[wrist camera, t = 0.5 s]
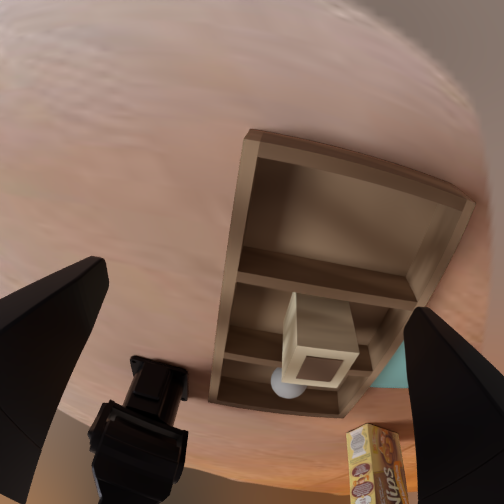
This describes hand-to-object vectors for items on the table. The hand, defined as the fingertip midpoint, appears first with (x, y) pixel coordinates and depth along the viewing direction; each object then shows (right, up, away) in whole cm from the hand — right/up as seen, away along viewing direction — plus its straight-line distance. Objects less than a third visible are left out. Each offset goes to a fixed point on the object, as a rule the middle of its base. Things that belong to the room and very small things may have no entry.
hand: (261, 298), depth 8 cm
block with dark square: (+5, -3, +15) cm, 16 cm away
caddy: (+5, -3, +15) cm, 16 cm away
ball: (+3, -10, +19) cm, 22 cm away
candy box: (+18, -25, +28) cm, 42 cm away
